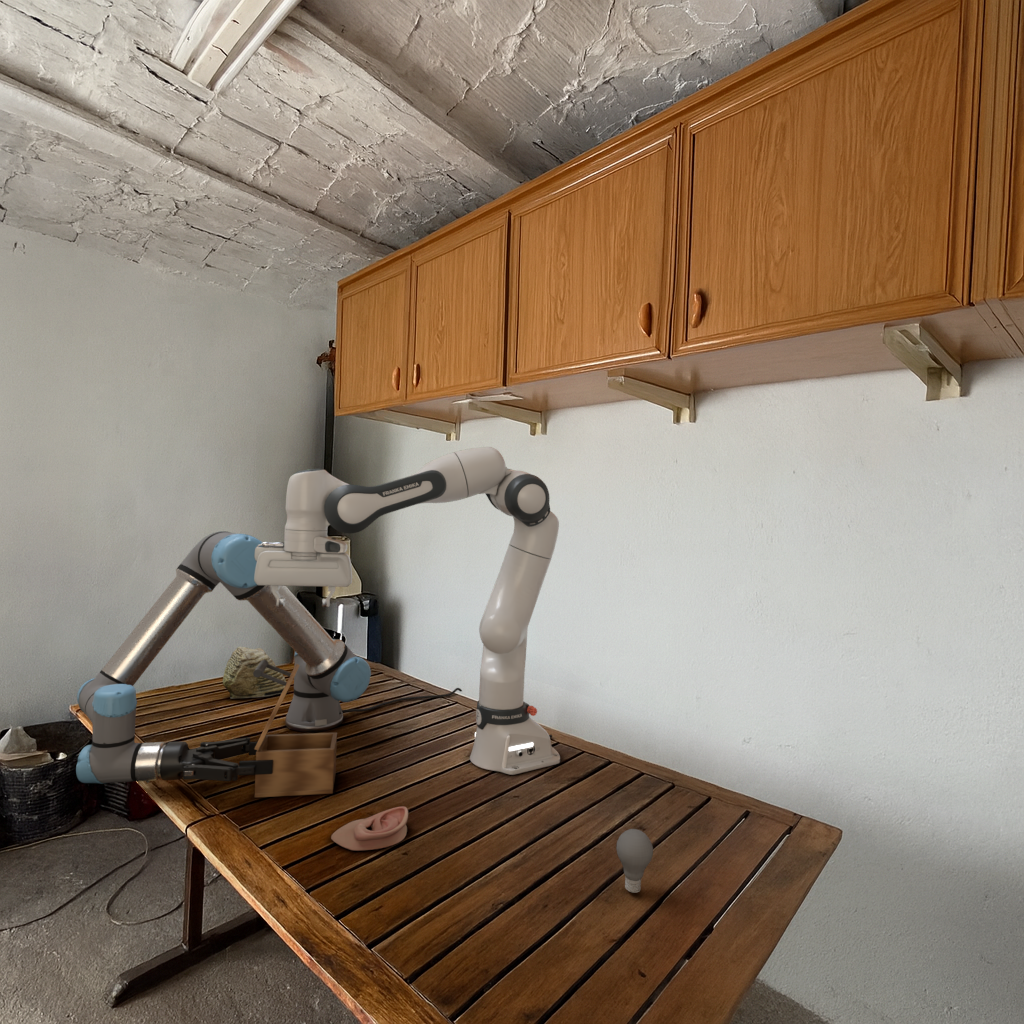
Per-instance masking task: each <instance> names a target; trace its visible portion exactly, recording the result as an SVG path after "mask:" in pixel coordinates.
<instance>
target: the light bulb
mask: <svg viewBox="0 0 1024 1024" xmlns="http://www.w3.org/2000/svg"><path fill="white" fill-rule="evenodd" d="M615 849H616V854H617V857H618V859H619V861H620V863H621V865H622V867H623V873H624V874H623V875H624V876H625V878H624V888H625V890H627V891H628V892H630V893H634V894H635V893H639V892H640V891H641V889H642V887H641V886H642V879H643V877H644V875H645V871H646V868H647V867H648V866H649V864H650V863H651V861H652V859H653V855H654V847H653V843H652V841H651V838H649V836H648V835H647V834H646V833H645V832H643V831H642V830H641V829H636V828H629V829H627V830H625V831H623V832H622V833H621V834H620V835H619V837H618V839H617V841H616V847H615Z"/></svg>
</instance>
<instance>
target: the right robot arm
mask: <svg viewBox="0 0 1024 1024" xmlns="http://www.w3.org/2000/svg"><path fill="white" fill-rule="evenodd" d="M484 494H485V496H486V498H487V499H488V501H489V502H490V504H491V505H492V506H493V507H494V508H495V509H497V510H498V511H500V512H501V513H503V514H505V515H506V516H509V517H512V518H513V522H514V523H513V524H514V526H513V527H514V528H513V533H512V535H511V537H510V540H509V543H508V546H507V549H506V551H505V554H504V557H503V561H502V563H501V566H500V569H499V572H498V574H497V577H496V579H495V583H494V585H493V588H492V591H491V593H490V595H489V598H488V599H487V603H486V606H485V608H484V612H483V614H482V617H481V619H480V622H479V628H478V632H479V637H480V640H481V642H482V652H481V653H482V654H481V662H480V667H479V669H480V670H479V691H478V692H479V693H478V701H477V702H476V710H475V723H476V730H475V732H474V742H473V746H472V750H471V753H470V755H469V760H470V762H471V763H472V764H473V765H475V766H476V767H478V768H480V769H484V770H487V771H488V770H489V771H494V772H500V773H502V774H506V775H511V776H514V775H519V774H522V773H527V772H530V771H534V770H539V769H543V768H546V767H551V766H554V765H559V764H560V763H561V756H560V754H559V752H558V751H557V749H556V748H554V747H553V746H552V741H551V739H552V738H553V735H552V734H549V733H548V731H547V729H545V728H544V727H543V726H542V725H540V724H539V723H538V722H537V721H536V720H535V719H533V718H532V717H531V716H533V717H535V716H537V714H538V709H537V708H536V707H535V706H534V705H530V704H529V703H527V702H526V701H524V698H525V697H524V695H525V674H526V673H525V672H526V662H527V661H526V660H527V648H528V647H527V645H528V631H529V629H528V628H529V625H530V622H531V619H532V616H533V613H534V610H535V607H536V604H537V602H538V598H539V596H540V593H541V590H542V587H543V585H544V582H545V578H546V575H547V573H548V569H549V567H550V564H551V562H552V558H553V555H554V552H555V548H556V544H557V541H558V534H559V528H560V521H559V518H558V516H557V515H556V514H555V513H554V512H552V511H551V506H550V492H549V489H548V486H547V484H546V483H545V482H544V481H543V480H542V478H540V477H538V476H537V475H535V474H531V473H529V472H526V471H524V470H515V469H512V468H508V467H507V466H506V461H505V459H504V457H503V454H502V453H501V452H500V451H499V450H498V449H497V448H494V447H492V446H481V447H472V448H466V449H462V450H457V451H454V452H450V453H447V454H443V455H441V456H438V457H436V458H433V459H432V460H430V461H428V462H426V463H425V464H424V465H422V467H421V468H420V469H418V470H417V471H415V472H414V473H412V474H410V475H408V476H405V477H402V478H398V479H394V480H392V481H388V482H384V483H381V484H377V485H372V486H366V485H365V486H364V485H359V484H349V483H347V482H345V481H343V480H341V479H339V478H337V477H336V476H334V475H332V474H331V473H329V472H328V471H327V470H326V469H323V468H309V469H303V470H298V471H295V472H294V473H292V475H290V477H289V479H288V482H287V487H286V493H285V495H286V496H285V513H286V523H285V525H284V541H283V542H282V541H281V542H280V541H279V542H277V541H276V542H270V541H262V542H263V543H262V544H259V545H258V546H257V547H256V548H255V554H254V557H255V560H256V561H257V563H256V568H255V575H254V581H255V583H256V584H257V585H265V586H272V590H271V591H272V593H273V594H274V596H275V598H276V599H277V602H276V606H277V607H284V605H285V602H284V601H285V598H284V597H281V596H280V594H279V593H278V590H279V589H280V586H286V587H327V592H329V593H328V595H327V597H323V598H322V600H321V602H322V604H321V607H322V608H329V607H330V604H331V598H332V597H333V595H334V593H336V592H335V591H336V587H337V588H339V587H341V588H348V587H350V585H351V584H352V583H353V567H352V560H351V557H350V555H349V554H348V553H347V551H348V548H349V547H348V543H347V542H346V541H345V540H341V539H339V538H336V537H333V536H329V535H328V529H329V528H328V527H329V526H331V527H332V528H333V529H334V530H336V531H337V532H340V533H342V534H349V535H350V534H351V535H352V534H356V533H360V532H362V531H364V530H366V529H367V528H368V527H369V526H370V525H371V524H373V522H375V521H376V520H377V519H379V518H380V517H383V516H385V515H387V514H390V513H393V512H397V511H399V510H403V509H406V508H410V507H413V506H416V505H420V504H421V505H422V504H445V503H451V502H457V501H461V500H465V499H468V498H471V497H474V496H477V495H484ZM259 546H262V547H259Z"/></svg>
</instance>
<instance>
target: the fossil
mask: <svg viewBox="0 0 1024 1024" xmlns="http://www.w3.org/2000/svg"><path fill="white" fill-rule="evenodd" d="M262 660H267V661H268V664H270V665H272V666H275V667H277V665H276V663H275V662H274V660H273V659H272V658H271V657H270V656H269V655H268V654H267V653H266V652H265V650H264V649H263V648H260V647H258V648H251V647H247V646H246V647H245V646H238V647H237V648H236V649H235V650H233V651H232V653H231V656H230V657H229V659H228V660H227V663H226V666H225V668H224V671H223V675H222V676H223V677H222V685H223V687H224V688H225V690H226V691H228V693H229V698H230V699H250V698H264V697H271V696H275V695H281V694H282V691H283V689H284V687H285V686H284V685H282V684H279V683H276V682H274V681H271V680H269V679H266V678H264V677H261V676H260V677H258V678H257V677H255V676H254V675H253V672H254V671H255V669H256V668H257V666H258V665H259V663H260V662H261V661H262ZM263 673H265V674H268V675H270V676H273V677H275V678H278V679H280V680H283V681H285V682H287V680H286V678H285V675H284V674H282V673H279V672H277V671H274V670H272V669H269V668H266V669H265V671H264V672H263Z"/></svg>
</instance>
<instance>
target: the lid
mask: <svg viewBox="0 0 1024 1024" xmlns="http://www.w3.org/2000/svg"><path fill="white" fill-rule="evenodd" d="M299 666H300V665H298V664H296V665H295V664H294V667H293V669H292V671H291V672H290V671H288V670H284V669H282V668H280V667H277V666H276V667H275V666H272V665H270V664H268V661H267V660H262V661H261V662H260V663H259V665H258V666H257V668H256V669H255V671H254V672H253V675H254V676H255V677H257V678H258V677H260V676H261V677H264V678H266V679H269V680H271V681H274V682H276V683H279V684H282V685H284V686H285V687H284V689H283V691H282V693H280V696H279V697H278V699H277V702H276V704H275V706H274V708H273V710H272V712H271V714H270V716H269V718H268V720H267V722H266V724H265V726H264V728H263V730H262V733H261V734H260V736H259V739H258V740H257V741H256V742H257V744H256V747H255V750H259V748H260V746H261V744H262V742H263V740H264V738H265V736H266V735H268V732H269V729H270V728H271V726H272V724H273V722H274V720H275V717H276V716H277V713H278V711H279V709H280V707H281V705H282V703H283V701H284V699H285V697H286V695H287V693H288V691H289V689H290V687H291V685H292V683H293V682H294V677H295V675H296V672H297V670H298V668H299ZM266 668H269V669H272V670H274V671H277V672H279V673H282V675H283V676H287V677H289V678H288V680H286V682H285V681H283V680H280V679H278V678H275V677H273V676H270V675H268V674H265V673H263V672H264V671H265V669H266Z"/></svg>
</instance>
